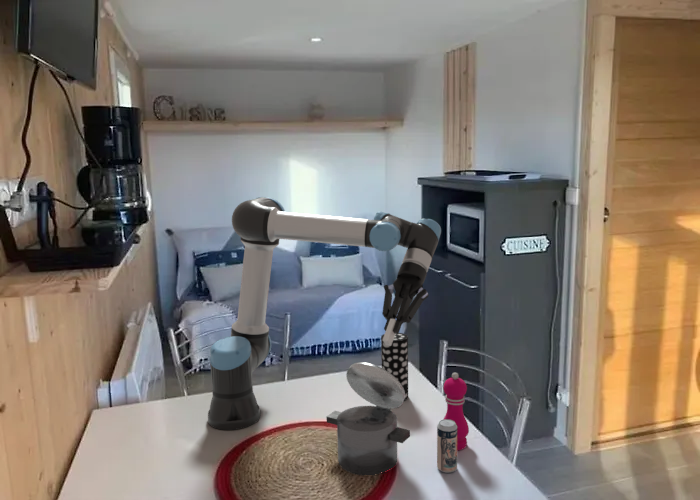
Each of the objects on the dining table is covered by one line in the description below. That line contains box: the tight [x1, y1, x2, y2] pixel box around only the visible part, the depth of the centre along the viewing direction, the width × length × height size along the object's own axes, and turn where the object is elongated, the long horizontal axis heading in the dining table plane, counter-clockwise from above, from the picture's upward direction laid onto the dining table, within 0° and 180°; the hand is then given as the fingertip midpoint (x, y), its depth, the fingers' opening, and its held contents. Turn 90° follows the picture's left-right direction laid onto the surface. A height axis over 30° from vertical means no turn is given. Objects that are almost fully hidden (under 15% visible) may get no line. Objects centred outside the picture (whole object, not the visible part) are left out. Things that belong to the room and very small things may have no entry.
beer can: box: [436, 418, 458, 474], centre depth 140 cm, size 5×5×12 cm
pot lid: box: [345, 361, 405, 411], centre depth 147 cm, size 16×17×3 cm
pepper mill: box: [442, 372, 470, 451], centre depth 151 cm, size 7×7×20 cm
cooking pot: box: [325, 405, 411, 476], centre depth 145 cm, size 22×15×11 cm
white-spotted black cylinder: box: [380, 332, 409, 402], centre depth 181 cm, size 8×8×20 cm
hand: (386, 343), depth 149 cm, fingers closed
